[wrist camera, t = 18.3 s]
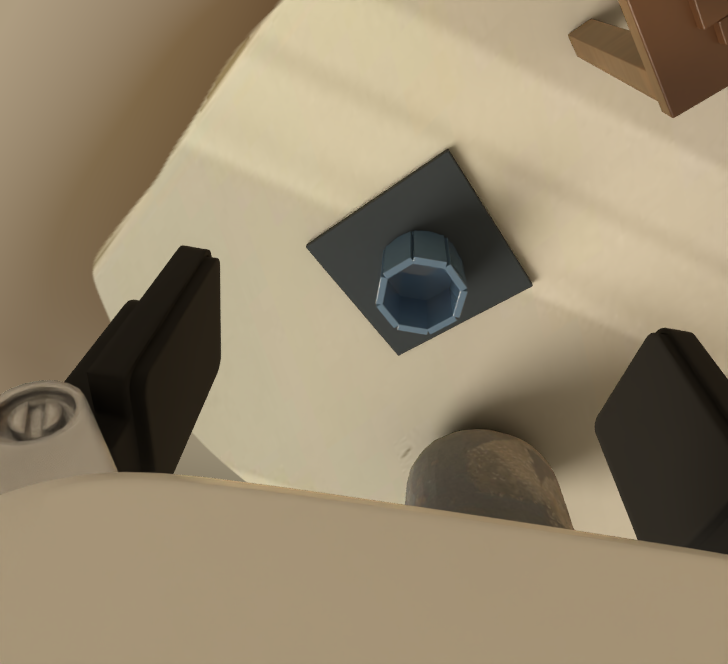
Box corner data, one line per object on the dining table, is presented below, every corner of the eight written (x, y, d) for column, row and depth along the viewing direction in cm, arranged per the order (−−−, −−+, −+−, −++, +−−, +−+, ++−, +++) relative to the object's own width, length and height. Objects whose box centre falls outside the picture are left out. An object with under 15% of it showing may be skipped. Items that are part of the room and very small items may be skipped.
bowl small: (364, 257, 44) (359, 287, 40) (432, 214, 41) (435, 242, 37) (408, 313, 47) (408, 346, 43) (475, 276, 44) (481, 308, 40)
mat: (306, 244, 44) (305, 247, 44) (447, 148, 39) (448, 150, 38) (398, 352, 50) (398, 356, 50) (531, 282, 45) (533, 286, 44)
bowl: (370, 477, 62) (360, 603, 49) (428, 371, 52) (433, 498, 39) (506, 515, 64) (528, 645, 52) (586, 421, 54) (638, 555, 42)
